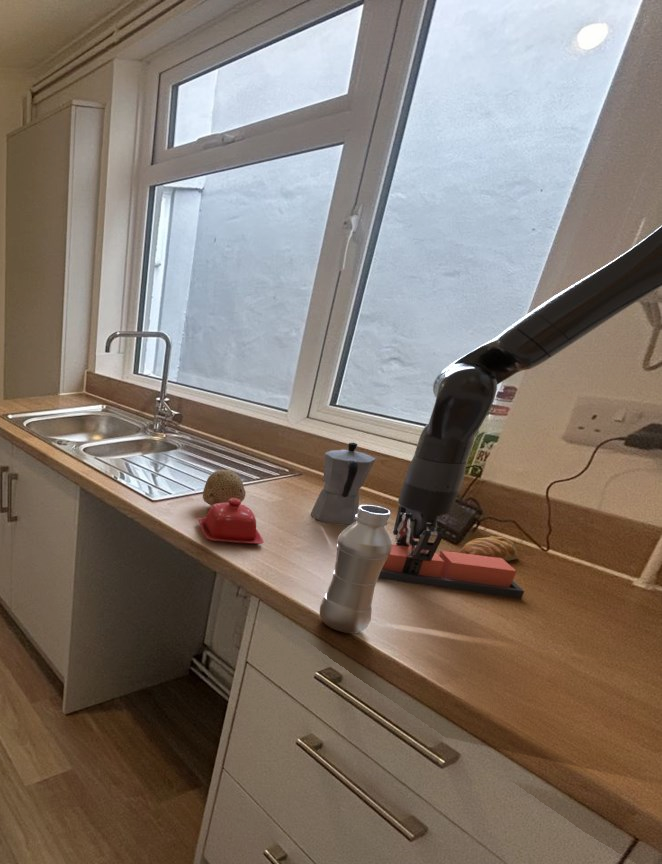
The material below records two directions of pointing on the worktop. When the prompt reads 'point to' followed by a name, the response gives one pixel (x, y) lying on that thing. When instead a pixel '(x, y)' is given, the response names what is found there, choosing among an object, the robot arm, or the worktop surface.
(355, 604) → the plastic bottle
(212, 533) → the butter dish
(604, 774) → the worktop surface
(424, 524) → the robot arm
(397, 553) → the red toy brick
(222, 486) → the natural sponge
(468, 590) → the tray
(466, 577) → the red block
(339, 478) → the coffeepot
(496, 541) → the pastry
